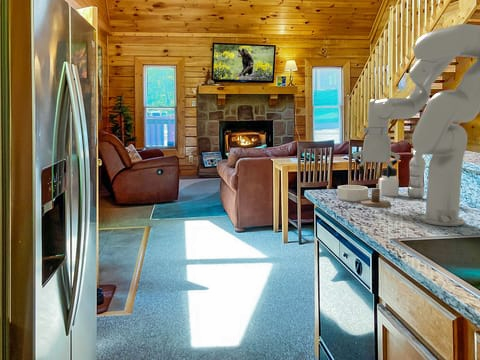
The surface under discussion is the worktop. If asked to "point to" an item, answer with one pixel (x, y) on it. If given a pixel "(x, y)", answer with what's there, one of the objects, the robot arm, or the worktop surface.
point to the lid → (375, 200)
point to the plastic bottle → (416, 176)
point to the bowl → (352, 192)
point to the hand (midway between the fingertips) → (374, 176)
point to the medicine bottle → (389, 183)
